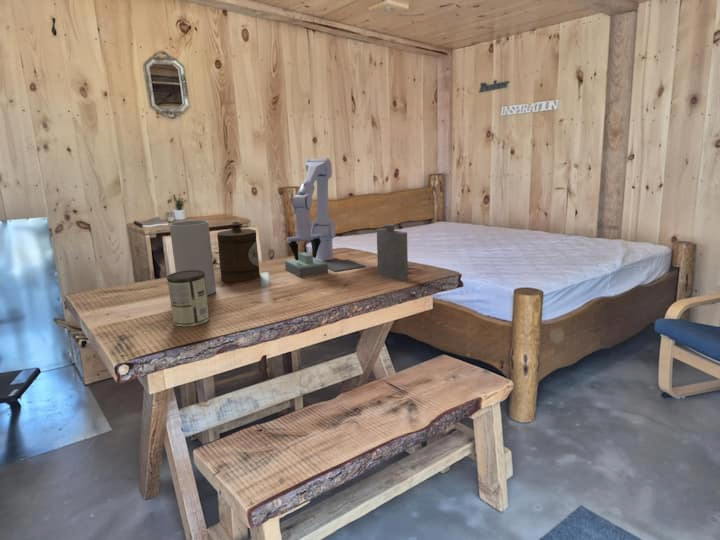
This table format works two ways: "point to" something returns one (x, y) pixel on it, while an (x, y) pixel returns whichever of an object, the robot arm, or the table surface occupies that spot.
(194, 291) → the coffee can
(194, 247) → the cylinder vase
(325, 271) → the storage box
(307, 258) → the lid
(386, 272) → the hip flask
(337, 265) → the mat
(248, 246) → the wooden container
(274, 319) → the table surface
